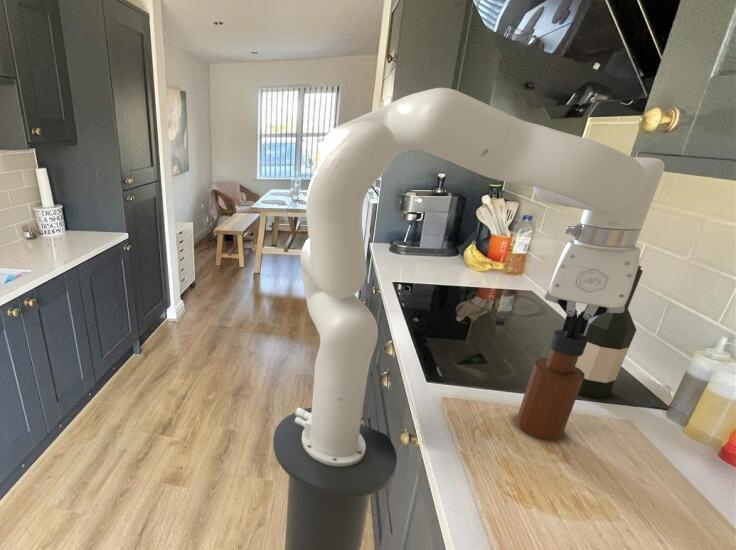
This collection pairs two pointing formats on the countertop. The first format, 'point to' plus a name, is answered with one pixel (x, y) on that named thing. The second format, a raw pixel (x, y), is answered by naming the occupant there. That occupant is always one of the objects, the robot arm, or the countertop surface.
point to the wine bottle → (606, 348)
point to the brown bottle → (550, 396)
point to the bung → (568, 344)
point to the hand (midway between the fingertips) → (571, 335)
